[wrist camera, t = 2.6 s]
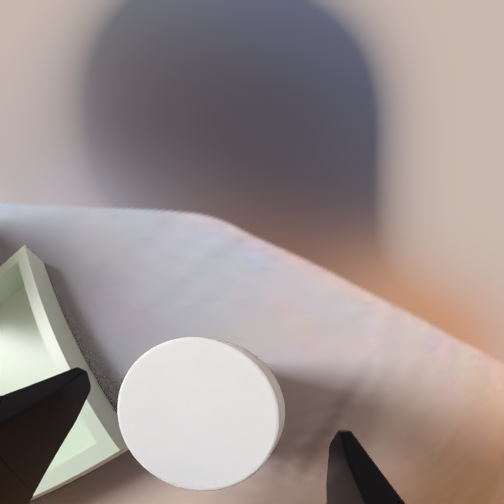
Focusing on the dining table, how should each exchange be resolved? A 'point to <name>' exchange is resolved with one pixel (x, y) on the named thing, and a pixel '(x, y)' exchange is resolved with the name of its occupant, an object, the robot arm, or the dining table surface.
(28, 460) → the robot arm
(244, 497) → the dining table surface
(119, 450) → the tray
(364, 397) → the dining table surface
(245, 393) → the pill bottle
